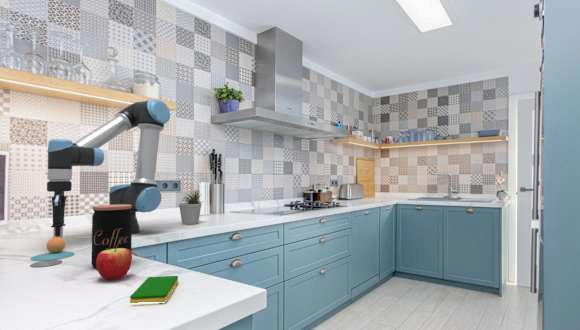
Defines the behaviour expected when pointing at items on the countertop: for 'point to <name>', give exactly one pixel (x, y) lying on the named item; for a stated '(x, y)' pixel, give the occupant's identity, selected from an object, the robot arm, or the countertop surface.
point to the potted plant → (190, 210)
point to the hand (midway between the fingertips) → (58, 244)
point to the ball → (55, 245)
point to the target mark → (52, 256)
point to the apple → (114, 262)
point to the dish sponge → (154, 289)
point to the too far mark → (46, 263)
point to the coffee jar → (111, 228)
